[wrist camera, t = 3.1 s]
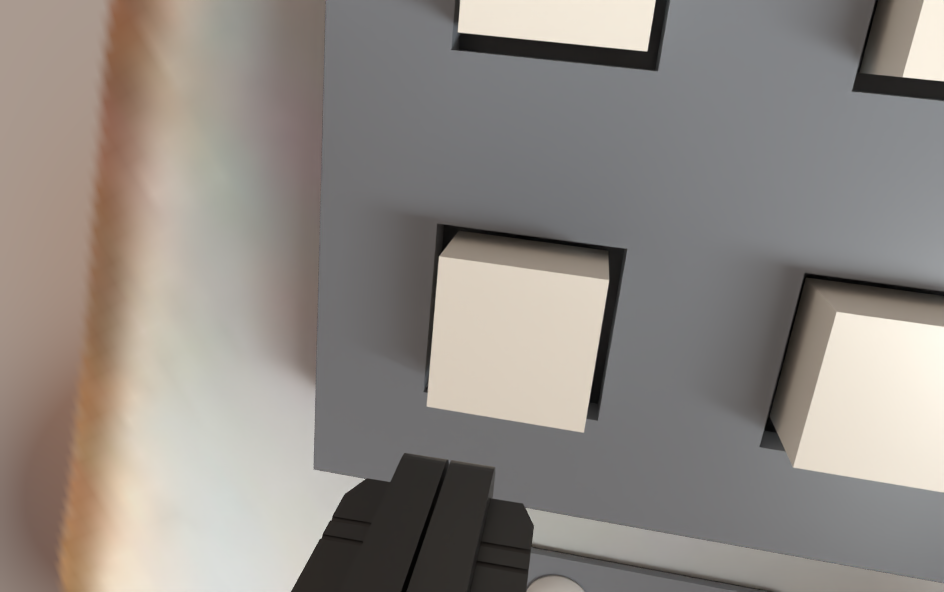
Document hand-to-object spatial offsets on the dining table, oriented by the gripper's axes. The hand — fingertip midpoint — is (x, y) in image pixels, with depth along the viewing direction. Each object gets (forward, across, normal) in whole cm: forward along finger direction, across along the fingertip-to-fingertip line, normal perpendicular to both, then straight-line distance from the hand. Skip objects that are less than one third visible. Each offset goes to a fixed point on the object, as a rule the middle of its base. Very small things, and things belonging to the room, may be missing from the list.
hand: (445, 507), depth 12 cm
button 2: (+9, 0, 0) cm, 9 cm away
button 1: (+9, -9, 0) cm, 13 cm away
